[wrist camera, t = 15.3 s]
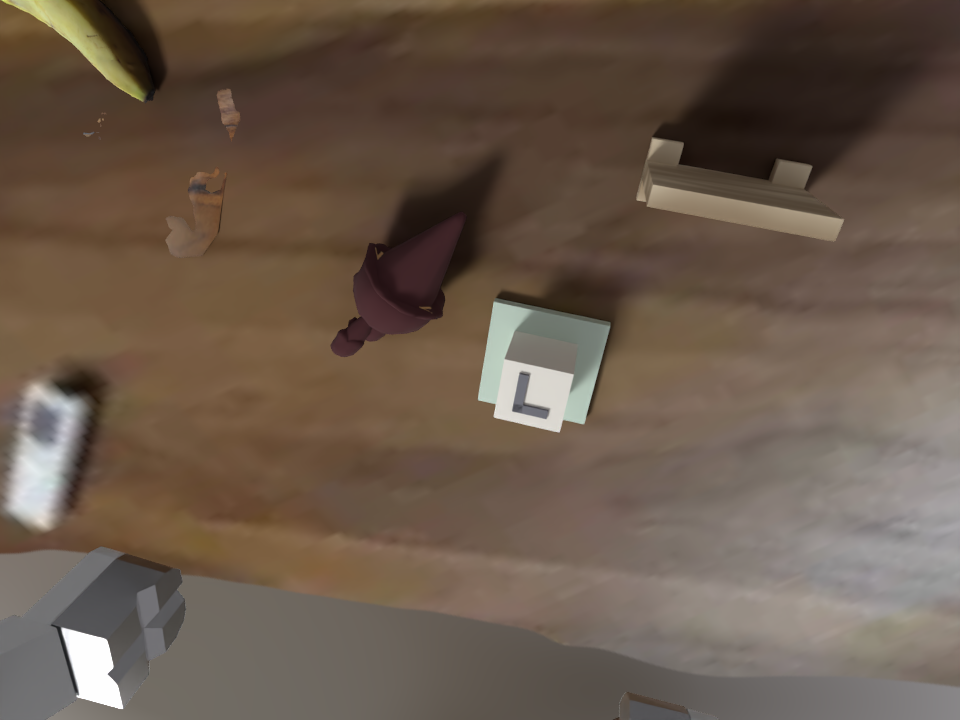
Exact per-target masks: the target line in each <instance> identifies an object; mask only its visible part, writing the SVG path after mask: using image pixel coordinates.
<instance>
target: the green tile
mask: <svg viewBox="0 0 960 720" xmlns="http://www.w3.org/2000/svg"><path fill="white" fill-rule="evenodd" d="M609 329H610V322H607V321H602V320H598V319H593V318H588V317H583V316H579V315H574V314H569V313H564V312H560V311H555V310H550V309H545V308H541V307H536V306H531V305H526V304H521V303H517V302H512V301H507V300H502V299H498V298H496V299H495V301H494V304H493V310H492V316H491V323H490V329H489V335H488V341H487V347H486V353H485V359H484V365H483V371H482V378H481V384H480V390H479V396H478V400H480V401H484V402H489V403H493V404H496V402H497V397H498V391H499V386H500V380H501V375H502V369H503V364H504V359H505V356H506V353H507V350H508V348H509V345H510V342H511V340H512V337H513V334H514V331H519V332H523V333H528V334H533V335H537V336H542V337H546V338H551V339H556V340H560V341H565V342H570V343H574V344H578V348H577V356H576V363H575V370H574V376H573V380H572V384H571V388H570V392H569V396H568V401H567V405H566V409H565V413H564V417H563V420H567V421H572V422H576V423H580V424H584V423H585V419H586V415H587V411H588V408H589V404H590V400H591V396H592V393H593V389H594V385H595V382H596V378H597V374H598V370H599V367H600V363H601V359H602V355H603V352H604V348H605V344H606V341H607V337H608V333H609Z"/></svg>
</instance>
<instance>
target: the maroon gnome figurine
mask: <svg viewBox="0 0 960 720" xmlns="http://www.w3.org/2000/svg"><path fill="white" fill-rule="evenodd" d="M466 218H467V216H466V214H465V213H464V212H459V213H457V214H455V215H453V216H451V217H449V218H447V219H445V220H444V221H442V222H440V223H438V224H436V225H435V226H433V227H431V228H429V229H427V230H425V231H424V232H422V233H420V234H418V235H416V236H414V237H412V238H411V239H409V240H407V241H405V242H403V243H401V244H399V245H398V246H396V247H394V248H391V247H387V246H386V245H384V244H380V243H379V244H373V243H369V246H368V250H367V254H366V257H365V260H364V262H363V265H362V267H361V269H360V270H359V272H358V273H356V274H355V275H354V280H353V281H354V288H353V292H354V297H355V302H356V306H357V310H358V312H359V315H360V316H361V317H359V318H358V319H357V318H355V317H354V318H353V319H351V320H349V324H348V327H347V328H346V329H342V330H340V331H339V332H338V334H337V336H336V338H335V339H334V340H333V342H332V344H331V349H332V351H333V352H334V353H335V354H336V355H339V356H341V357H347V356H351V355H354V354H355V353H356V352H357V351H358V350H359V349H360V348H361V347H362V346H363V345H364V341H365V340H367V341H377V340H378V339H380V338H381V337H383V336H384V335H385V334H405V333H410V332H414V331H417V330H419V329H420V328H422V327H423V326H424V325H426V324H427V323H428V322H429V321H430V320H431V319H438V318H441V317H442V316H443V311H442V310H443V306H444V303H445V296H444V293H443V291H442V290H441V288H440V287H441V284H442V282H443V279H444V276H445V274H446V271H447V268H448V266H449V263H450V260H451V258H452V255H453V252H454V250H455V247H456V244H457V242H458V239H459V236H460V234H461V231H462V229H463V226H464V224H465V221H466Z"/></svg>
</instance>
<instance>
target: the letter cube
mask: <svg viewBox="0 0 960 720" xmlns="http://www.w3.org/2000/svg"><path fill="white" fill-rule="evenodd" d="M577 348H578V344H574V343H570V342H565V341H560V340H556V339H551V338H546V337H542V336H537V335H533V334H528V333H523V332H519V331H514V334H513V337H512V340H511V342H510V345H509V348H508V350H507V353H506V356H505V359H504V364H503V369H502V375H501V380H500V386H499V391H498V397H497V402H496V408H495V413H494V417H495V418H499V419H503V420H508V421H512V422H516V423H521V424H525V425H529V426H533V427H538V428H542V429H546V430H551V431H555V432H559V433H560V429H561V425H562V421H563V417H564V413H565V409H566V405H567V401H568V396H569V392H570V388H571V384H572V380H573V376H574V370H575V363H576V356H577Z"/></svg>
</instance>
